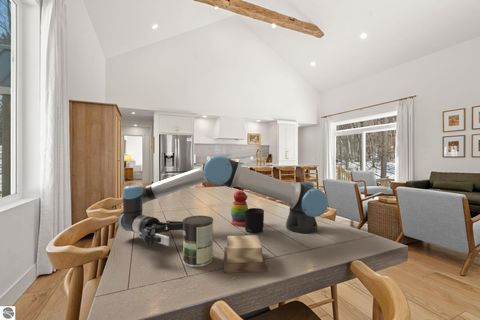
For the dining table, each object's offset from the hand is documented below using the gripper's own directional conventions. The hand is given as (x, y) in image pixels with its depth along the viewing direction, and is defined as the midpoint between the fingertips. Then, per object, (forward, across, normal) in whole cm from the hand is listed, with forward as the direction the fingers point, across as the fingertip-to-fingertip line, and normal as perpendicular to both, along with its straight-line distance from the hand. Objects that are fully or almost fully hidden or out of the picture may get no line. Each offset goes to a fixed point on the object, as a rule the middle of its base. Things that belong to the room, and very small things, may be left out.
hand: (183, 235), depth 78 cm
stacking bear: (-4, -44, -8) cm, 45 cm away
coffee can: (+6, -1, -8) cm, 10 cm away
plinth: (+20, -8, -8) cm, 23 cm away
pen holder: (+8, -38, -8) cm, 39 cm away
